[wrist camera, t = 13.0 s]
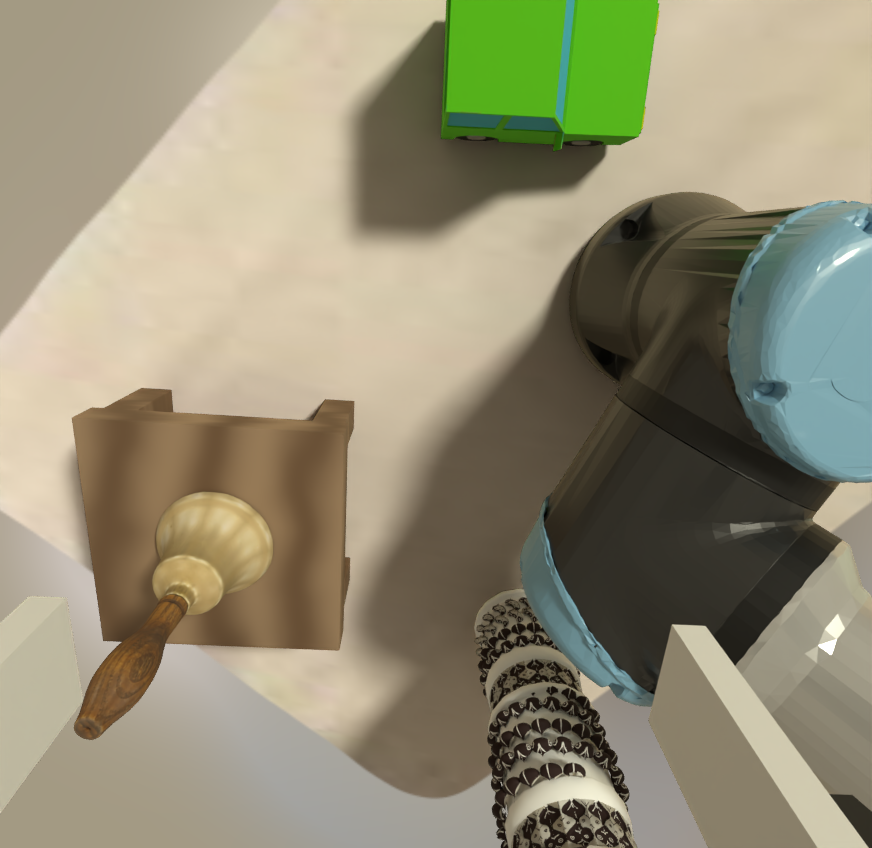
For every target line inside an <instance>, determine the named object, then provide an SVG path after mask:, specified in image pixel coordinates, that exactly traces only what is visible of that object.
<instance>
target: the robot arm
mask: <svg viewBox="0 0 872 848" xmlns="http://www.w3.org/2000/svg"><path fill="white" fill-rule="evenodd" d="M570 317H571V323H572V327H573V331H574V334H575V337H576V339H577V341H578V344H579V346H580V347H581V349H582V351H583V352H584V354H585V355H586V357H587V358H588V359H589V360H590V362H591V363H592V364H593V365H594V366H595V367H596V368H597V369H599V370H600V371H601V372H602V373H604V374H605V375H606V376H608V377H609V378H611V379H612V380H614V381H615V382H617V383H619V384H620V385H622V386H621V388H620V389H619V391H618V393H616V394H615V396H614V398H613V399H612V401H611V402H610V404H609V406H608V407H607V409H606V410H605V412H604V414H603V415H602V417H601V418H600V420H599V422H598V423H597V425H596V426H595V428H594V430H593V431H592V433H591V434H590V436H589V437H588V439H587V440H586V442H585V444H584V445H583V447H582V448H581V450H580V451H579V453H578V454H577V456H576V457H575V459H574V461H573V462H572V464H571V465H570V467H569V468H568V470H567V471H566V473H565V474H564V476H563V478H562V479H561V481H560V482H559V484H558V485H557V487H556V488H555V490H554V491H553V492H552V493H551V494H550V495H549V496H548V497H547V498H546V499H545V501H544V502H543V504H542V507H541V510H540V515H539V518H538V520H537V522H536V523H535V525H534V527H533V529H532V531H531V532H530V534H529V536H528V538H527V539H526V541H525V543H524V545H523V548H522V552H521V556H520V568H521V572H522V574H521V575H522V578H521V581H522V585H523V589H524V592H525V595H526V597H527V600H528V602H529V605H530V607H531V609H532V611H533V613H534V614H535V616H536V618H537V620H538V621H539V623H540V625H541V626H542V627H543V629H544V630H545V632H546V633H547V635H548V636H549V637H550V639H551V640H552V641H553V643H554V644H555V645H556V646H557V647H558V649H559V650H560V651H561V652H562V653H563V654H564V655H565V656H566V658H567V659H568V660H569V661H570V662H571V663H572V664H573V665H574V666H575V667H576V668H577V669H579V670H580V671H581V672H582V673H583V674H584V675H585V676H587V677H588V678H589V679H590V680H592V681H593V682H594V683H596V684H597V685H598V686H600V687H606V686H609V687H610V688H611V690H612V691H613V693H614V694H615V695H616V697H617V698H620V699H622V700H624V701H626V702H628V703H631V704H634V705H639V706H648V707H650V706H652V708H651V712H650V716H649V720H648V721H649V723H650V725H651V728H652V729H653V732H654V734H655V736H656V738H657V740H658V742H659V744H660V747H661V749H662V751H663V753H664V755H665V757H666V759H667V761H668V763H669V766H670V768H671V770H672V772H673V774H674V776H675V778H676V781H677V783H678V785H679V786H680V789H681V791H682V793H683V795H684V797H685V800H686V802H687V804H688V806H689V808H690V810H691V812H692V814H693V816H694V818H695V821H696V823H697V825H698V827H699V829H700V831H701V834H702V836H703V838H704V840H705V842H706V844H707V846H708V848H872V596H871V595H870V594H869V593H868V592H867V591H866V590H865V589H864V588H863V586H862V583H861V580H860V576H859V573H858V570H857V567H856V563H855V560H854V557H853V553H852V550H851V547H850V545H848V544H847V543H846V542H844V541H843V540H842V539H840V538H838V537H837V536H835V535H833V534H832V533H830V532H829V531H827V530H825V529H824V528H822V527H821V526H819V525H817V524H816V523H815V522H813V520H812V518H813V516H814V515H815V514H816V512H817V511H818V510H819V508H820V507H821V506H822V505H823V503H824V502H825V501H826V500H827V498H828V497H829V496H830V495H831V494H832V492H833V491H834V490H835V489H836V487H837V486H838V485H839V484H840V482H841V483H844V482H854V483H867V482H872V204H863V203H860V202H855V201H851V202H849V203H847V202H846V201H844V200H840V201H828V202H821V203H817V204H814V205H812V206H806V207H797V208H787V209H777V210H766V211H756V212H745V211H744V210H743V209H741V208H740V207H738V206H737V205H735V204H733V203H731V202H730V201H728V200H725V199H723V198H720V197H717V196H714V195H709V194H704V193H697V192H679V193H671V194H666V195H660V196H655V197H652V198H648V199H645V200H642V201H640V202H637V203H635V204H633V205H631V206H629V207H627V208H626V209H624V210H623V211H621V212H619V213H618V214H617V215H615V216H614V217H613V218H611V219H610V220H609V221H608V222H607V223H606V224H605V225H604V226H603V227H602V228H601V229H600V230H599V231H598V232H597V233H596V234H595V236H594V237H593V238H592V240H591V241H590V242H589V244H588V245H587V247H586V249H585V250H584V252H583V254H582V256H581V258H580V260H579V262H578V265H577V267H576V270H575V273H574V276H573V280H572V285H571V291H570ZM82 702H83V695H82V689H81V683H80V677H79V671H78V665H77V658H76V653H75V646H74V640H73V634H72V627H71V621H70V616H69V609H68V603H67V598H62V597H39V596H29V597H28V598H27V599H26V600H25V601H23V602H22V603H21V604H20V605H19V606H18V607H17V608H16V609H15V610H14V611H13V612H12V613H10V614H9V615H8V616H7V617H6V618H5V619H4V620H3V621H2V622H0V814H1V812H2V811H3V809H4V808H5V807H6V805H7V804H8V803H9V801H10V800H11V799H12V797H13V796H14V795H15V793H16V792H17V790H18V789H19V788H20V786H21V785H22V784H23V782H24V781H25V779H26V778H27V777H28V775H29V774H30V773H31V771H32V770H33V769H34V767H35V766H36V764H37V763H38V762H39V760H40V759H41V758H42V756H43V755H44V754H45V752H46V751H47V749H48V748H49V747H50V745H51V744H52V743H53V741H54V740H55V739H56V737H57V736H58V734H59V733H60V732H61V730H62V729H63V728H64V726H65V725H66V723H67V722H68V721H69V719H70V718H71V717H72V715H73V714H74V713H75V711H76V710H77V708H78V707H79V706H80V704H81V703H82Z"/></svg>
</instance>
